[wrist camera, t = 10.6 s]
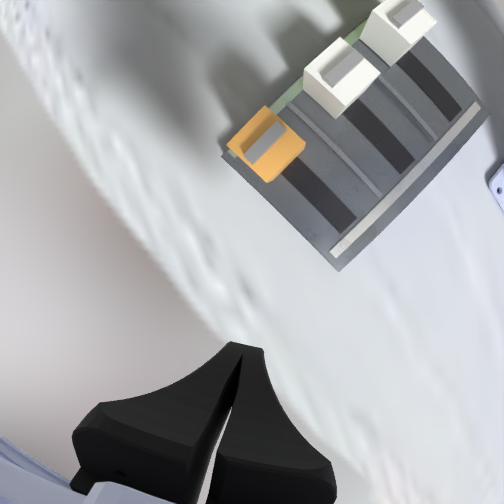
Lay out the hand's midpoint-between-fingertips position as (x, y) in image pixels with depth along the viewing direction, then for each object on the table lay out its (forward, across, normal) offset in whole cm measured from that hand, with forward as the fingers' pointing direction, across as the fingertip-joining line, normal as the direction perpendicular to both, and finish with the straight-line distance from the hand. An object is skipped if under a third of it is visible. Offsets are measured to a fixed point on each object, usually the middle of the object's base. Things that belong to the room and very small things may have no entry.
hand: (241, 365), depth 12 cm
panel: (+10, -4, -11) cm, 16 cm away
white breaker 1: (+9, -2, -13) cm, 15 cm away
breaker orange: (+9, +1, -8) cm, 12 cm away
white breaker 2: (+9, -5, -17) cm, 20 cm away
